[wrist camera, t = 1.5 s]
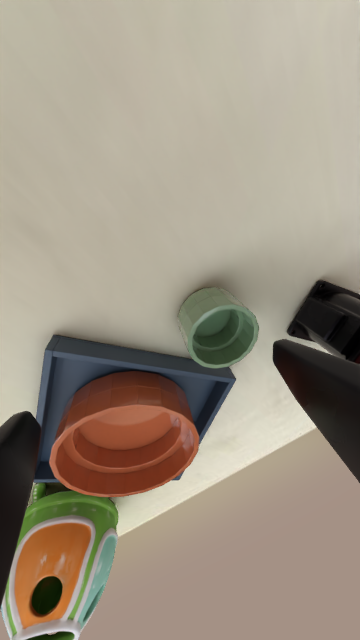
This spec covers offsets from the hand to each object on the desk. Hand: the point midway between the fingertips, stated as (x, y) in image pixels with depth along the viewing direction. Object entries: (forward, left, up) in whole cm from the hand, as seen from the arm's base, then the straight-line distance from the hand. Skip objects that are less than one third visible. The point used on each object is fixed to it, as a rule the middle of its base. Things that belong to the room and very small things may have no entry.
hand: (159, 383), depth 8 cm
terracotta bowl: (-3, +16, -13) cm, 21 cm away
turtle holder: (0, +35, -13) cm, 37 cm away
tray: (-3, +16, -13) cm, 21 cm away
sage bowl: (-7, +2, -13) cm, 14 cm away
